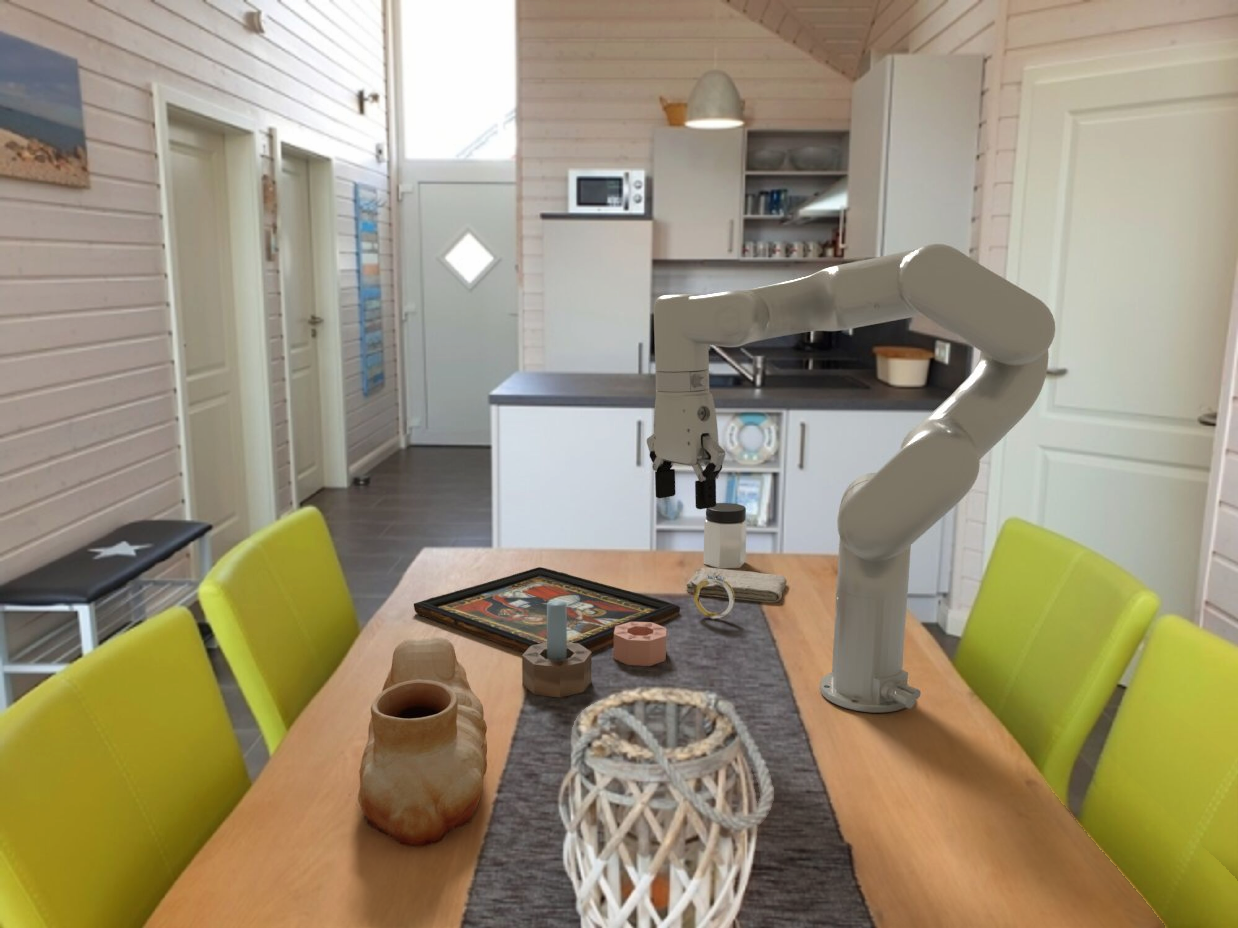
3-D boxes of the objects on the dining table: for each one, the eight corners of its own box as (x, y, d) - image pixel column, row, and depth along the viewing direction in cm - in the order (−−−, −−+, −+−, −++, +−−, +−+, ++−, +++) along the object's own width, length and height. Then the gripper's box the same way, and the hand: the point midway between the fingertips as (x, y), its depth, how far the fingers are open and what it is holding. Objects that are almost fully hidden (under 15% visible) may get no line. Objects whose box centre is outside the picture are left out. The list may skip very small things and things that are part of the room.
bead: (600, 687, 136) (600, 658, 135) (542, 701, 131) (542, 670, 130) (570, 665, 144) (570, 637, 143) (514, 678, 139) (514, 648, 138)
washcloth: (696, 578, 189) (697, 563, 189) (787, 586, 184) (788, 571, 184) (683, 596, 178) (684, 580, 178) (780, 605, 173) (781, 589, 173)
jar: (710, 555, 203) (712, 500, 201) (748, 559, 201) (750, 504, 199) (699, 566, 195) (700, 509, 193) (738, 571, 192) (740, 513, 190)
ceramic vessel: (487, 731, 123) (485, 620, 120) (488, 848, 97) (486, 710, 94) (376, 737, 121) (372, 624, 118) (349, 858, 95) (342, 718, 92)
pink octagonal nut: (676, 656, 148) (677, 632, 147) (638, 669, 143) (638, 644, 142) (641, 641, 154) (642, 618, 153) (603, 653, 148) (603, 629, 148)
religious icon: (691, 610, 171) (692, 595, 170) (576, 675, 142) (576, 657, 141) (525, 573, 191) (525, 560, 191) (395, 624, 162) (395, 608, 162)
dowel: (570, 684, 137) (570, 604, 135) (552, 688, 136) (552, 608, 133) (561, 677, 139) (560, 599, 137) (543, 681, 138) (543, 602, 136)
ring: (735, 619, 165) (737, 574, 163) (728, 624, 162) (730, 579, 160) (698, 612, 168) (699, 568, 166) (691, 617, 165) (692, 573, 164)
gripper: (742, 384, 129) (744, 508, 132) (668, 378, 143) (671, 489, 146) (698, 389, 125) (700, 516, 128) (626, 382, 139) (630, 496, 142)
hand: (685, 502), depth 137 cm, fingers open, 9 cm apart
